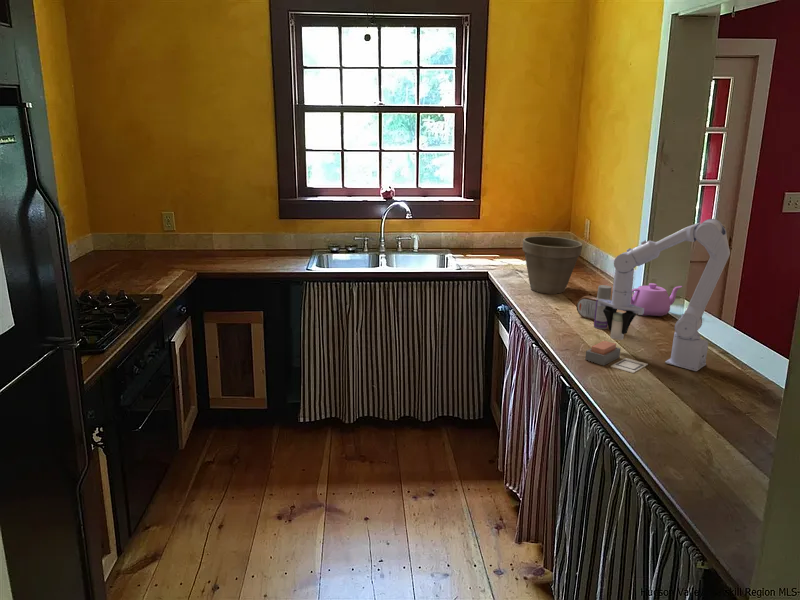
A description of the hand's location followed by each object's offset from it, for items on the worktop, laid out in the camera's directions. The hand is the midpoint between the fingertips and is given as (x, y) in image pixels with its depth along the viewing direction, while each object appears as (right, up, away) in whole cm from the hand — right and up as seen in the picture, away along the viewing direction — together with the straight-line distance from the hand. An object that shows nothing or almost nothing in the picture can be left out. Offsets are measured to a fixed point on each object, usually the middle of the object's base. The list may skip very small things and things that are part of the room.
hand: (617, 331), depth 205 cm
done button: (-7, -5, -7) cm, 11 cm away
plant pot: (-5, +14, +75) cm, 77 cm away
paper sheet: (0, -10, -12) cm, 15 cm away
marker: (0, -2, +1) cm, 2 cm away
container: (+2, 0, +25) cm, 25 cm away
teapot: (+28, +5, +44) cm, 52 cm away
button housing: (-7, -8, -6) cm, 12 cm away
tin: (+3, +3, +34) cm, 34 cm away
